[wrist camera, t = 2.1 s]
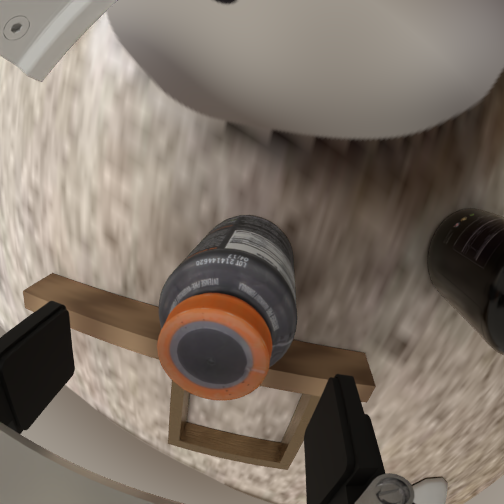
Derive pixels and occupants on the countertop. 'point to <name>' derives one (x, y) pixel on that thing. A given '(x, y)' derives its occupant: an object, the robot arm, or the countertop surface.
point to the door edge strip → (148, 329)
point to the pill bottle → (229, 310)
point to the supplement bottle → (472, 270)
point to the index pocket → (236, 444)
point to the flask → (430, 491)
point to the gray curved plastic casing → (44, 30)
